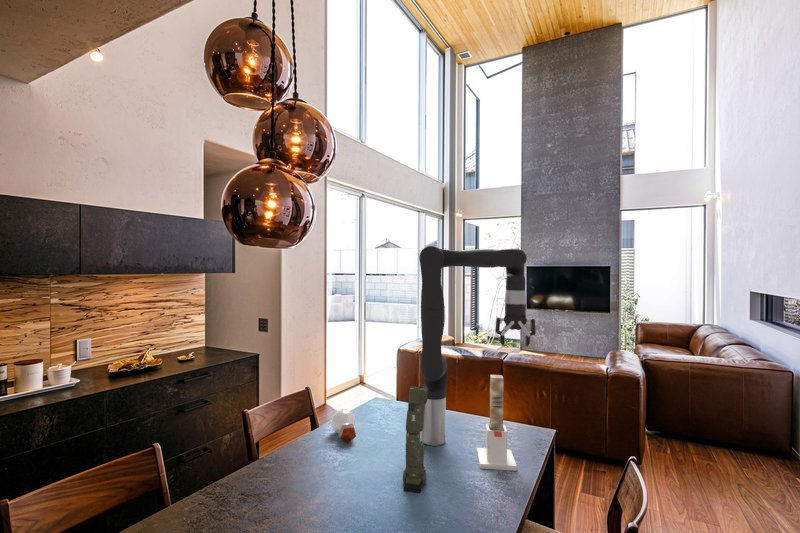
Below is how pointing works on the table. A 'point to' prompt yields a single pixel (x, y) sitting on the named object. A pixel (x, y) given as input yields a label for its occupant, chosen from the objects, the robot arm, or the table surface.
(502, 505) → the table surface
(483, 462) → the sleeve stand
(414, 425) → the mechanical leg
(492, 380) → the post
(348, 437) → the potion bottle
